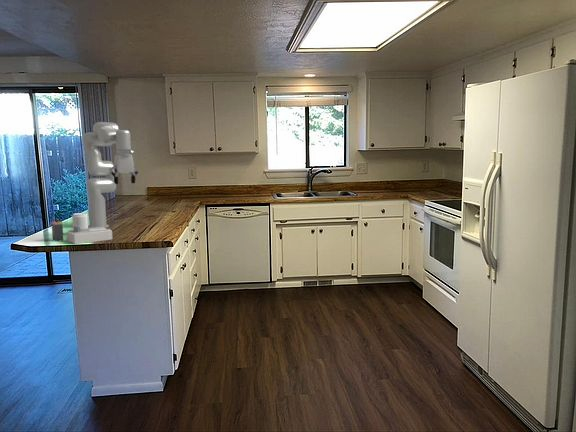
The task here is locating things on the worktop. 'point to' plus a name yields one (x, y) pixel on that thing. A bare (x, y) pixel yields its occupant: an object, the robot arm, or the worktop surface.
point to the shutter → (77, 229)
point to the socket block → (89, 235)
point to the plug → (57, 230)
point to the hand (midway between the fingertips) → (125, 183)
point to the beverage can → (80, 220)
